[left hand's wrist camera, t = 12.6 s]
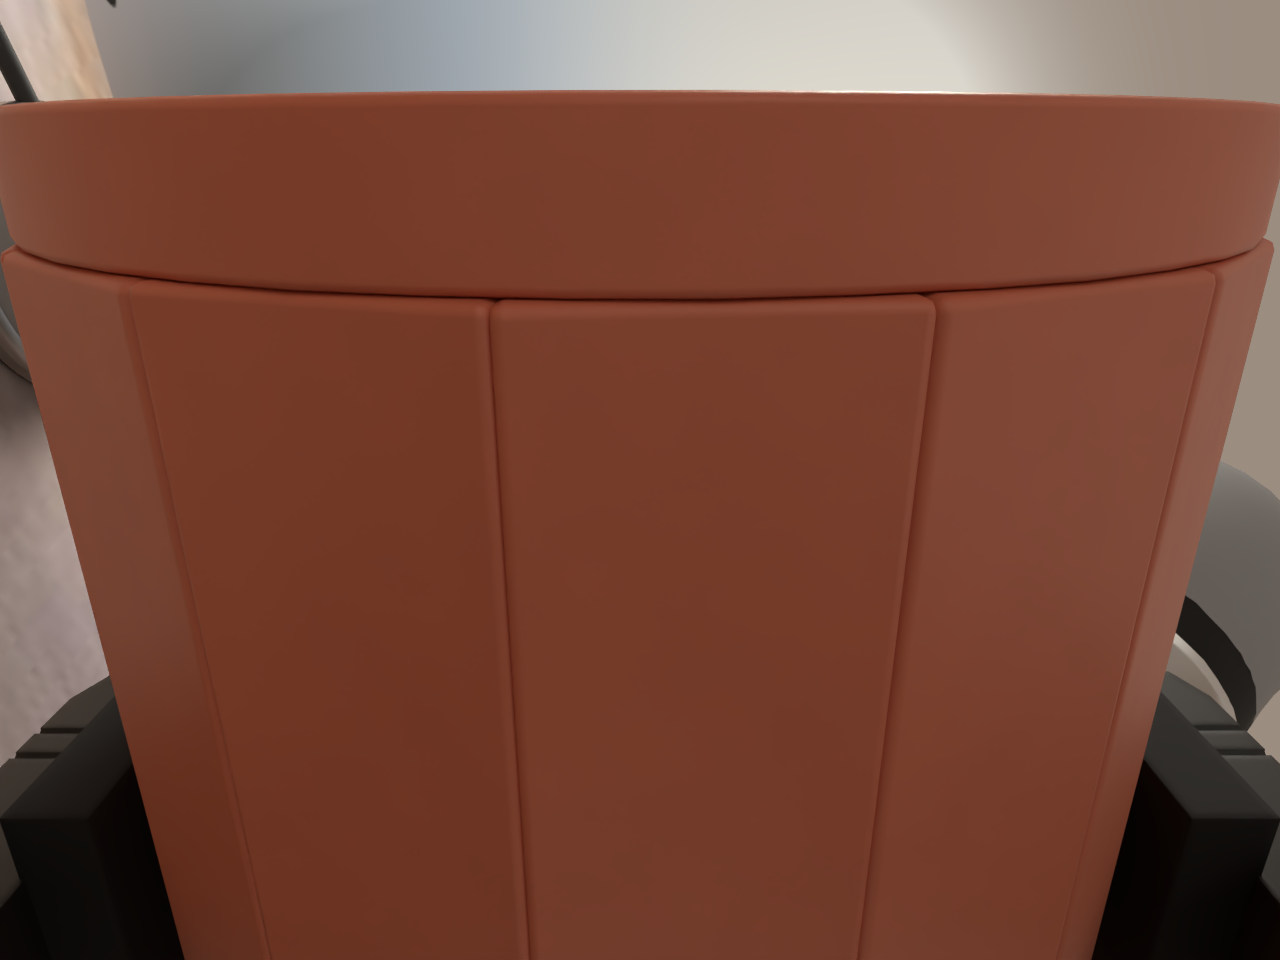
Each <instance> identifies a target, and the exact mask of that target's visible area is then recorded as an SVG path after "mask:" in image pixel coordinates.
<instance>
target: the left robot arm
mask: <svg viewBox="0 0 1280 960" xmlns="http://www.w3.org/2000/svg"><path fill="white" fill-rule="evenodd" d="M0 960H185V959H184V955H183V951H182V947H181V944H180V940H179V936H178V932H177V928H176V925H175V921H174V917H173V913H172V909H171V906H170V902H169V898H168V894H167V890H166V887H165V883H164V879H163V875H162V872H161V868H160V864H159V860H158V856H157V853H156V849H155V845H154V841H153V837H152V834H151V830H150V826H149V822H148V818H147V815H146V811H145V807H144V803H143V800H142V796H141V792H140V788H139V784H138V781H137V777H136V773H135V769H134V765H133V762H132V758H131V754H130V750H129V746H128V743H127V739H126V735H125V731H124V728H123V724H122V720H121V716H120V712H119V709H118V705H117V701H116V697H115V693H114V690H113V686H112V682H111V678H110V676H108V677H106V678H105V679H103V680H101V681H100V682H98V683H96V684H95V685H93V686H91V687H90V688H88V689H86V690H85V691H83V692H81V693H79V694H78V695H76V696H74V697H73V698H71V699H70V700H69V701H68V702H67V703H66V704H65V705H64V706H63V707H62V708H61V709H60V710H59V711H58V712H57V713H56V714H54V715H53V716H52V717H51V718H50V719H49V720H48V721H47V722H46V723H45V724H44V725H43V726H42V727H41V732H40V734H34V735H33V736H32V737H31V738H30V739H29V740H28V741H27V742H26V743H25V744H24V745H23V746H22V747H21V748H20V749H19V750H18V751H17V752H16V757H15V759H9V760H8V761H7V762H6V763H5V764H4V765H3V766H2V767H1V768H0ZM1091 960H1280V764H1279V763H1278V762H1277V761H1276V760H1275V759H1274V758H1273V757H1272V756H1271V755H1265V749H1264V748H1263V747H1262V746H1261V745H1260V744H1259V743H1258V742H1257V741H1256V740H1255V739H1254V738H1253V737H1252V736H1251V735H1250V734H1249V733H1248V732H1247V731H1241V730H1240V725H1239V724H1238V723H1237V722H1236V721H1235V720H1234V719H1233V718H1232V717H1231V716H1230V715H1229V714H1228V713H1227V712H1226V711H1225V710H1224V709H1223V708H1222V707H1221V706H1220V705H1219V704H1218V703H1217V702H1216V701H1215V700H1214V699H1213V698H1212V697H1211V696H1209V695H1208V694H1206V693H1204V692H1203V691H1201V690H1199V689H1198V688H1196V687H1194V686H1192V685H1191V684H1189V683H1187V682H1186V681H1184V680H1182V679H1181V678H1179V677H1177V676H1175V675H1174V674H1172V673H1170V672H1169V671H1166V672H1165V676H1164V680H1163V683H1162V687H1161V691H1160V695H1159V699H1158V703H1157V707H1156V711H1155V714H1154V718H1153V722H1152V726H1151V730H1150V734H1149V738H1148V742H1147V745H1146V749H1145V753H1144V757H1143V761H1142V765H1141V769H1140V773H1139V776H1138V780H1137V784H1136V788H1135V792H1134V796H1133V800H1132V804H1131V808H1130V811H1129V815H1128V819H1127V823H1126V827H1125V831H1124V835H1123V839H1122V842H1121V846H1120V850H1119V854H1118V858H1117V862H1116V866H1115V870H1114V873H1113V877H1112V881H1111V885H1110V889H1109V893H1108V897H1107V901H1106V905H1105V908H1104V912H1103V916H1102V920H1101V924H1100V928H1099V932H1098V936H1097V939H1096V943H1095V947H1094V951H1093V955H1092V959H1091Z"/></svg>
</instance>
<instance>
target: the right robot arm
mask: <svg viewBox="0 0 1280 960" xmlns="http://www.w3.org/2000/svg"><path fill="white" fill-rule="evenodd" d="M0 70H1V72H2V74H3V76H4V78H5V80H6V82H7V84H8V86H9V88H10V90H11V92H12V94H13V96H14V98H15V100H16V101H8V102H0V106H2V105H10V104H19V103H32V102H45V101H39V100H38V98H37V96H36V94H35V92H34V90H33V88H32V86H31V84H30V82H29V80H28V78H27V75H26V73H25V71H24V69H23V67H22V65H21V63H20V61H19V59H18V57H17V55H16V53H15V51H14V49H13V47H12V45H11V43H10V41H9V39H8V37H7V35H6V33H5V31H4V29H3V27H2V25H1V23H0ZM14 244H16V243H15V242H14V241H13V239H12V238H11V237H10V234H9V230H8V227H7V223H6V219H5V215H4V211H3V207H2V203H1V199H0V258H1V253H2V252H4V251H5V250H7V249H8V248H10V247H11V246H13V245H14ZM0 359H1V360H2V361H3V362H4V363H5V364H6V365H7V366H9V367H10V368H11V369H12V370H14V371H15V372H16V373H18V374H19V375H21V376H22V377H24V378H25V379H27V380H28V381H30V382H32V379H31V375H30V371H29V368H28V364H27V360H26V356H25V352H24V349H23V345H22V341H21V337H20V333H19V330H18V326H17V322H16V318H15V315H14V311H13V307H12V303H11V299H10V296H9V292H8V288H7V284H6V280H5V277H4V273H3V269H2V265H1V261H0ZM1166 671H1169V672H1170V673H1172V674H1174V675H1175V676H1177V677H1179V678H1181V679H1182V680H1184V681H1186V682H1187V683H1189V684H1191V685H1192V686H1194V687H1196V688H1198V689H1199V690H1201V691H1203V692H1204V693H1206V694H1208V695H1209V696H1211V697H1212V698H1213V699H1214V700H1215V701H1216V702H1217V703H1218V704H1219V705H1220V706H1221V707H1222V708H1223V709H1224V710H1225V711H1226V712H1227V713H1228V714H1229V715H1230V716H1231V717H1232V718H1233V719H1234V720H1235V721H1236V722H1237V723H1238V724H1239V725H1240V730H1241V731H1248V729H1249V728H1250V726H1251V725H1252V723H1253V722H1254V720H1255V719H1256V717H1257V716H1258V715H1259V713H1260V712H1261V710H1262V709H1263V708H1264V706H1265V705H1266V704H1267V703H1268V702H1269V700H1270V699H1271V698H1272V697H1273V695H1274V694H1275V693H1277V692H1278V691H1279V690H1280V500H1279V499H1278V498H1277V497H1276V496H1275V495H1274V494H1273V493H1272V492H1271V491H1270V490H1268V489H1267V488H1266V487H1264V486H1263V485H1261V484H1260V483H1259V482H1257V481H1256V480H1254V479H1253V478H1252V477H1250V476H1249V475H1247V474H1246V473H1245V472H1243V471H1241V470H1238V469H1236V468H1234V467H1232V466H1230V465H1228V464H1226V463H1224V462H1222V461H1220V462H1219V466H1218V470H1217V474H1216V478H1215V482H1214V486H1213V489H1212V493H1211V497H1210V501H1209V505H1208V509H1207V513H1206V517H1205V520H1204V524H1203V528H1202V532H1201V536H1200V540H1199V544H1198V548H1197V552H1196V555H1195V559H1194V563H1193V567H1192V571H1191V575H1190V579H1189V583H1188V586H1187V590H1186V594H1185V598H1184V602H1183V606H1182V610H1181V614H1180V617H1179V621H1178V625H1177V629H1176V633H1175V637H1174V641H1173V645H1172V648H1171V652H1170V656H1169V660H1168V664H1167V668H1166Z"/></svg>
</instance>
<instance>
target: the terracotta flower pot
mask: <svg viewBox="0 0 1280 960" xmlns="http://www.w3.org/2000/svg"><path fill="white" fill-rule="evenodd" d="M1279 179H1280V104H1272V103H1263V102H1255V101H1239V100H1223V99H1206V98H1182V97H1154V96H1128V95H1088V94H1045V93H993V92H918V91H802V90H533V91H532V90H531V91H530V90H529V91H411V92H410V91H409V92H346V93H284V94H283V93H282V94H238V95H199V96H160V97H134V98H108V99H82V100H64V101H48V102H32V103H19V104H10V105H2V106H0V199H1V203H2V207H3V211H4V215H5V219H6V223H7V227H8V230H9V234H10V237H11V238H12V239H13V241H14V242H15V243H16V244H14V245H13V246H11V247H10V248H8V249H7V250H5V251H4V252H2V253H1V258H0V261H1V265H2V269H3V273H4V277H5V280H6V284H7V288H8V292H9V296H10V299H11V303H12V307H13V311H14V315H15V318H16V322H17V326H18V330H19V333H20V337H21V341H22V345H23V349H24V352H25V356H26V360H27V364H28V368H29V371H30V375H31V379H32V383H33V387H34V390H35V394H36V398H37V402H38V405H39V409H40V413H41V417H42V421H43V424H44V428H45V432H46V436H47V440H48V443H49V447H50V451H51V455H52V459H53V462H54V466H55V470H56V474H57V477H58V481H59V485H60V489H61V493H62V496H63V500H64V504H65V508H66V512H67V515H68V519H69V523H70V527H71V531H72V534H73V538H74V542H75V546H76V549H77V553H78V557H79V561H80V565H81V568H82V572H83V576H84V580H85V584H86V587H87V591H88V595H89V599H90V602H91V606H92V610H93V614H94V618H95V621H96V625H97V629H98V633H99V637H100V640H101V644H102V648H103V652H104V656H105V659H106V663H107V667H108V671H109V674H110V678H111V682H112V686H113V690H114V693H115V697H116V701H117V705H118V709H119V712H120V716H121V720H122V724H123V728H124V731H125V735H126V739H127V743H128V746H129V750H130V754H131V758H132V762H133V765H134V769H135V773H136V777H137V781H138V784H139V788H140V792H141V796H142V800H143V803H144V807H145V811H146V815H147V818H148V822H149V826H150V830H151V834H152V837H153V841H154V845H155V849H156V853H157V856H158V860H159V864H160V868H161V872H162V875H163V879H164V883H165V887H166V890H167V894H168V898H169V902H170V906H171V909H172V913H173V917H174V921H175V925H176V928H177V932H178V936H179V940H180V944H181V947H182V951H183V955H184V959H185V960H1091V959H1092V955H1093V951H1094V947H1095V943H1096V939H1097V936H1098V932H1099V928H1100V924H1101V920H1102V916H1103V912H1104V908H1105V905H1106V901H1107V897H1108V893H1109V889H1110V885H1111V881H1112V877H1113V873H1114V870H1115V866H1116V862H1117V858H1118V854H1119V850H1120V846H1121V842H1122V839H1123V835H1124V831H1125V827H1126V823H1127V819H1128V815H1129V811H1130V808H1131V804H1132V800H1133V796H1134V792H1135V788H1136V784H1137V780H1138V776H1139V773H1140V769H1141V765H1142V761H1143V757H1144V753H1145V749H1146V745H1147V742H1148V738H1149V734H1150V730H1151V726H1152V722H1153V718H1154V714H1155V711H1156V707H1157V703H1158V699H1159V695H1160V691H1161V687H1162V683H1163V680H1164V676H1165V672H1166V668H1167V664H1168V660H1169V656H1170V652H1171V648H1172V645H1173V641H1174V637H1175V633H1176V629H1177V625H1178V621H1179V617H1180V614H1181V610H1182V606H1183V602H1184V598H1185V594H1186V590H1187V586H1188V583H1189V579H1190V575H1191V571H1192V567H1193V563H1194V559H1195V555H1196V552H1197V548H1198V544H1199V540H1200V536H1201V532H1202V528H1203V524H1204V520H1205V517H1206V513H1207V509H1208V505H1209V501H1210V497H1211V493H1212V489H1213V486H1214V482H1215V478H1216V474H1217V470H1218V466H1219V462H1220V458H1221V455H1222V451H1223V446H1224V443H1225V439H1226V435H1227V431H1228V427H1229V423H1230V420H1231V415H1232V412H1233V408H1234V404H1235V400H1236V396H1237V392H1238V389H1239V385H1240V381H1241V377H1242V373H1243V369H1244V365H1245V361H1246V358H1247V354H1248V350H1249V346H1250V342H1251V338H1252V334H1253V330H1254V327H1255V323H1256V319H1257V315H1258V311H1259V307H1260V303H1261V299H1262V295H1263V292H1264V288H1265V284H1266V280H1267V276H1268V272H1269V268H1270V264H1271V261H1272V257H1273V253H1274V247H1273V243H1272V242H1270V241H1269V240H1266V239H1264V238H1263V236H1264V235H1265V234H1266V231H1267V226H1268V223H1269V219H1270V215H1271V211H1272V207H1273V203H1274V199H1275V195H1276V191H1277V187H1278V183H1279Z"/></svg>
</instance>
